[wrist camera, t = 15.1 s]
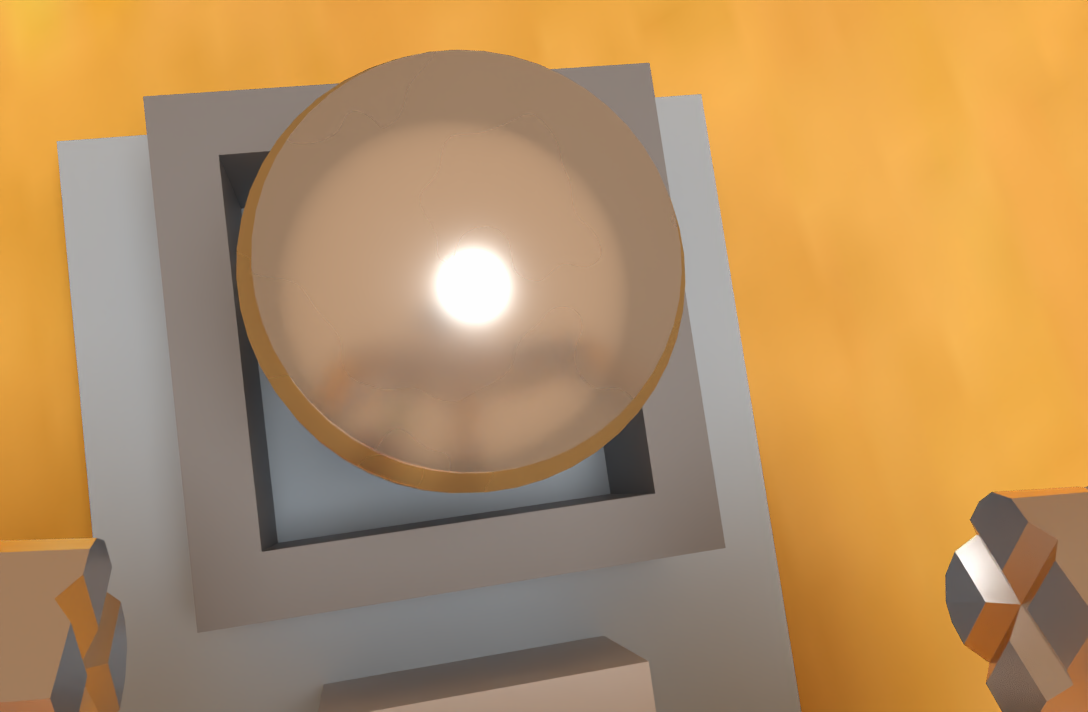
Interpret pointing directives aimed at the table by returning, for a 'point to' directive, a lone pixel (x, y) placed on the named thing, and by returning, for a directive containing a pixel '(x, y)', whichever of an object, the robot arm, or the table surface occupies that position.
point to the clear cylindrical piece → (460, 271)
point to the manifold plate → (390, 509)
